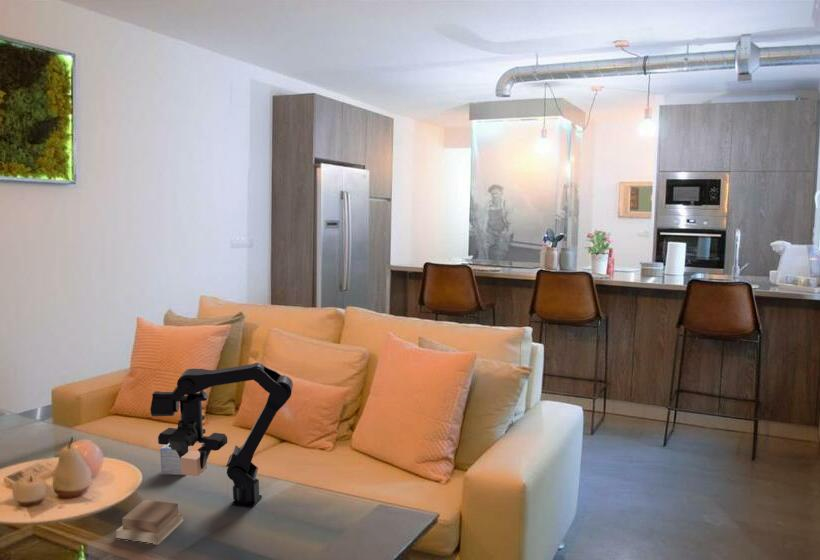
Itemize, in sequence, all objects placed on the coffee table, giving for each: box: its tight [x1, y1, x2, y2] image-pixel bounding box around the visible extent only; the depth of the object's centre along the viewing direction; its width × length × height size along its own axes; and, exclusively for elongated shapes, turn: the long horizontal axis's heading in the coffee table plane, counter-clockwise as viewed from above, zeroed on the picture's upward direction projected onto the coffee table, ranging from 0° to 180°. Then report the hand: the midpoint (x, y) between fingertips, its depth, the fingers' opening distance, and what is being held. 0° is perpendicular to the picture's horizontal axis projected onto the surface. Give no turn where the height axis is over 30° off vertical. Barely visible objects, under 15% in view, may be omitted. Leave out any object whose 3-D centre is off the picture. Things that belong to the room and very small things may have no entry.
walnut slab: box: [121, 499, 179, 533], centre depth 183 cm, size 10×10×3 cm
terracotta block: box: [181, 449, 208, 477], centre depth 195 cm, size 5×5×5 cm
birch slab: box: [115, 511, 184, 546], centre depth 183 cm, size 12×12×3 cm
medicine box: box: [159, 443, 191, 476], centre depth 216 cm, size 8×4×9 cm, turn 84°
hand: (194, 467), depth 195 cm, fingers closed on terracotta block, 5 cm apart
